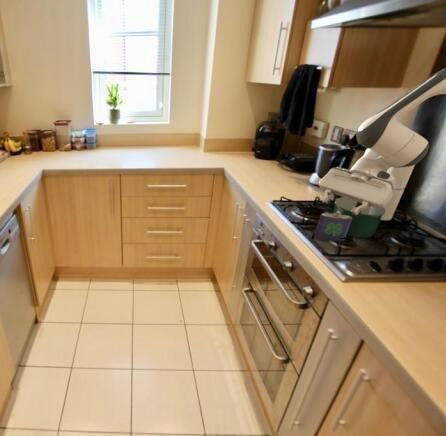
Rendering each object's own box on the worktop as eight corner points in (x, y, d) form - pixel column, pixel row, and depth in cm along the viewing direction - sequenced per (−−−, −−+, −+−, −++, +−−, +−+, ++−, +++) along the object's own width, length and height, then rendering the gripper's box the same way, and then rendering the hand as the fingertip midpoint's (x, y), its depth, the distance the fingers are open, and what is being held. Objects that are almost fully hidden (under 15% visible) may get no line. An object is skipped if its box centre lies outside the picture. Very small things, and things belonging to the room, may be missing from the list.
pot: (386, 229, 113) (395, 208, 109) (355, 243, 105) (364, 221, 101) (347, 214, 124) (354, 194, 120) (316, 226, 116) (323, 205, 112)
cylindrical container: (382, 221, 118) (409, 156, 107) (364, 213, 124) (388, 151, 113) (396, 218, 120) (424, 154, 108) (377, 210, 126) (402, 149, 115)
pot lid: (393, 211, 108) (398, 199, 106) (369, 221, 102) (374, 208, 100) (349, 196, 120) (353, 185, 117) (325, 205, 114) (329, 193, 112)
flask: (342, 238, 108) (352, 210, 103) (345, 242, 106) (356, 214, 101) (312, 235, 110) (321, 208, 105) (315, 239, 108) (324, 211, 103)
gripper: (331, 160, 109) (306, 192, 110) (400, 178, 93) (370, 215, 94) (335, 170, 113) (311, 201, 114) (402, 189, 97) (373, 224, 98)
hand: (338, 207), depth 104 cm, fingers open, 8 cm apart
